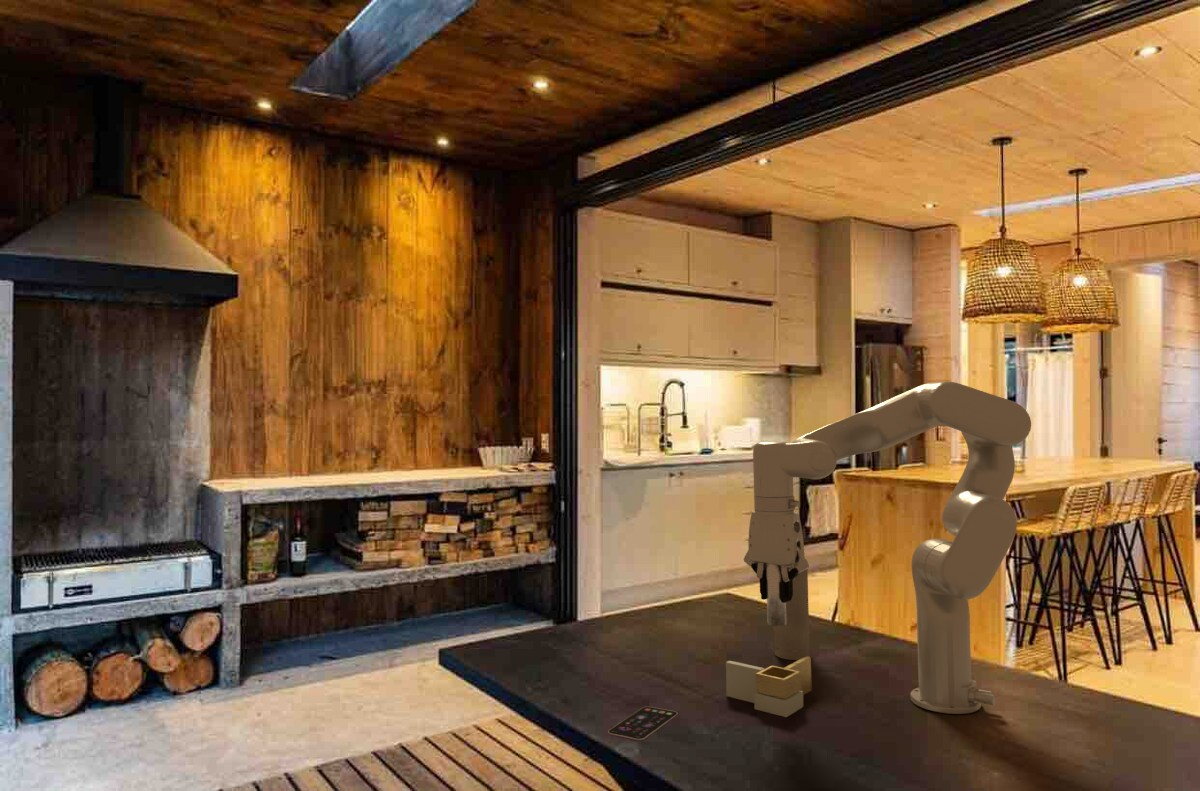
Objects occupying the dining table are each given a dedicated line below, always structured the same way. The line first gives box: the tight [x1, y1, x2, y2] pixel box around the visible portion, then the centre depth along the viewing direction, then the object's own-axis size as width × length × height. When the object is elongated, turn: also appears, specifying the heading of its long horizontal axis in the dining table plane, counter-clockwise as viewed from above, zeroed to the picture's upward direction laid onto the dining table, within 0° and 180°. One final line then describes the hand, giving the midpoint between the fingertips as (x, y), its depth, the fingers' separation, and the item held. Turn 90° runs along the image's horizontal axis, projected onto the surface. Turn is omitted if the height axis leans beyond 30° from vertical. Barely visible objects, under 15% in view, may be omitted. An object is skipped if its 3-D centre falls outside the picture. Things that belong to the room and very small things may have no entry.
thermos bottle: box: [773, 552, 811, 661], centre depth 190 cm, size 8×8×28 cm
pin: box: [766, 563, 787, 626], centre depth 156 cm, size 4×4×13 cm
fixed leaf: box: [756, 656, 812, 699], centre depth 160 cm, size 6×16×7 cm, turn 139°
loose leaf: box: [725, 660, 804, 718], centre depth 159 cm, size 15×7×7 cm, turn 49°
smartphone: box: [607, 706, 679, 741], centre depth 150 cm, size 8×1×15 cm
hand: (776, 598), depth 156 cm, fingers closed on pin, 3 cm apart
